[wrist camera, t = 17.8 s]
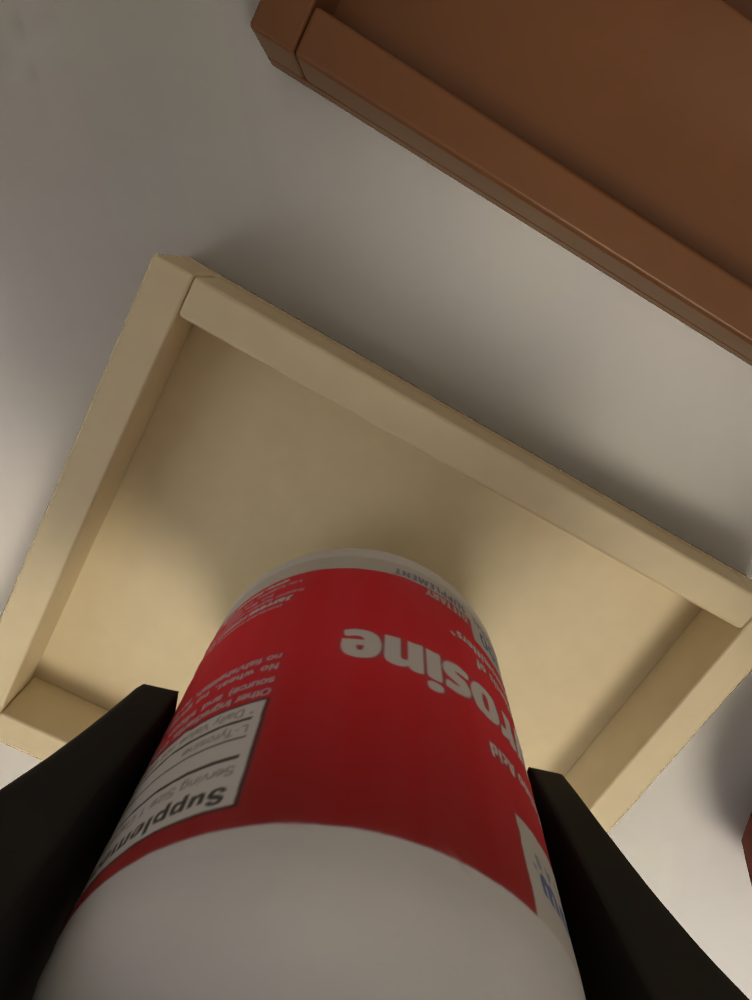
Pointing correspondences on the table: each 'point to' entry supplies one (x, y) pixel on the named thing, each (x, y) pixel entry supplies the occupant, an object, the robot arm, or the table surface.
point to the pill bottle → (329, 814)
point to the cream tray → (350, 541)
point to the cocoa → (748, 846)
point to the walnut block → (742, 6)
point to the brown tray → (565, 124)
